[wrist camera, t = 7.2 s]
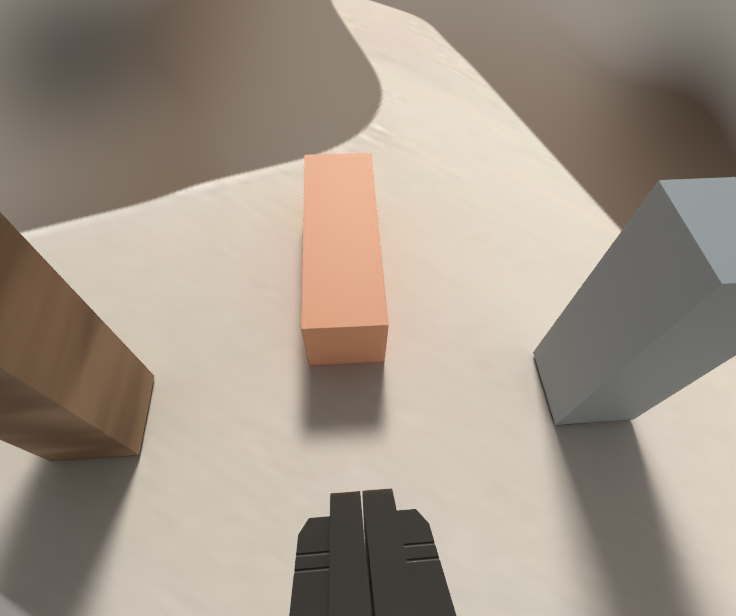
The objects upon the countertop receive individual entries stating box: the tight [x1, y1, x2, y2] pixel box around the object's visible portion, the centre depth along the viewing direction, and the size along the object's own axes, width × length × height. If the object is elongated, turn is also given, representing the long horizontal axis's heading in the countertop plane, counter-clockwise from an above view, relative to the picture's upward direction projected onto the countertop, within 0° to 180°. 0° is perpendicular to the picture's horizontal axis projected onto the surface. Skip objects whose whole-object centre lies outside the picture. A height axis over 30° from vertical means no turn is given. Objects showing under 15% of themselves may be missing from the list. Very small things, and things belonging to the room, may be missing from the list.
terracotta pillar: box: [301, 153, 388, 365], centre depth 26 cm, size 4×4×12 cm
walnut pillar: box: [0, 213, 154, 461], centre depth 17 cm, size 4×4×12 cm
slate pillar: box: [533, 177, 736, 425], centre depth 18 cm, size 4×4×12 cm
